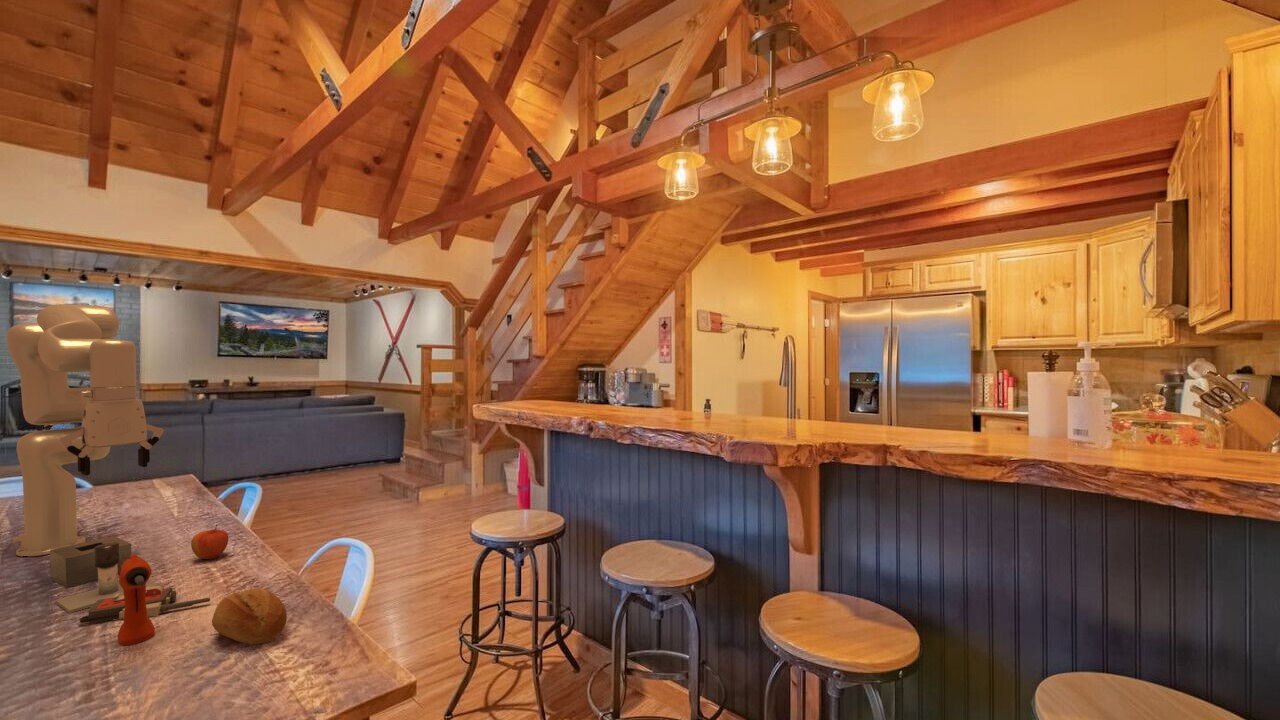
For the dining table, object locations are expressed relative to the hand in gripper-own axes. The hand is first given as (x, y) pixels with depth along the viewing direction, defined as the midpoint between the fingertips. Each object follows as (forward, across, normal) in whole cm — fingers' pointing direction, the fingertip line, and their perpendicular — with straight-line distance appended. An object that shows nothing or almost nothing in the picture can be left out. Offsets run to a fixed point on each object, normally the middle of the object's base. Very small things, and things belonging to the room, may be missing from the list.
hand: (115, 470), depth 124 cm
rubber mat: (+25, -4, -8) cm, 27 cm away
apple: (+25, +17, -3) cm, 30 cm away
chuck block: (+25, -2, +10) cm, 27 cm away
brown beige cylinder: (+24, -4, -8) cm, 26 cm away
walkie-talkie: (+25, -2, -25) cm, 36 cm away
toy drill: (+25, -8, -40) cm, 48 cm away
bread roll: (+24, +4, -54) cm, 60 cm away
